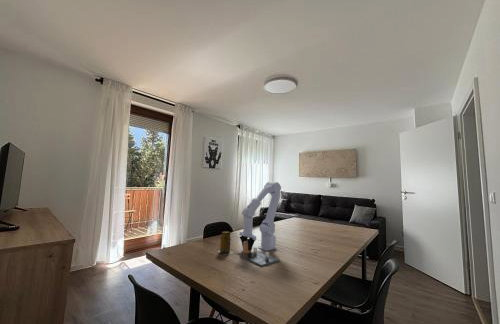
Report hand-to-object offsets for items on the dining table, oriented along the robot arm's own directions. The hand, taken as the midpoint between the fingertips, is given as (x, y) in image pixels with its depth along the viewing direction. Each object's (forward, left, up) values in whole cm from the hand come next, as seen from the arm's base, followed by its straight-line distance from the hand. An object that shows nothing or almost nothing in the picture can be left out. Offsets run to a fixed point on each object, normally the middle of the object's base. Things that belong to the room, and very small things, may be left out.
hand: (247, 249), depth 133 cm
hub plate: (+2, +14, -2) cm, 14 cm away
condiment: (+12, -6, -2) cm, 14 cm away
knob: (0, 0, -1) cm, 1 cm away
